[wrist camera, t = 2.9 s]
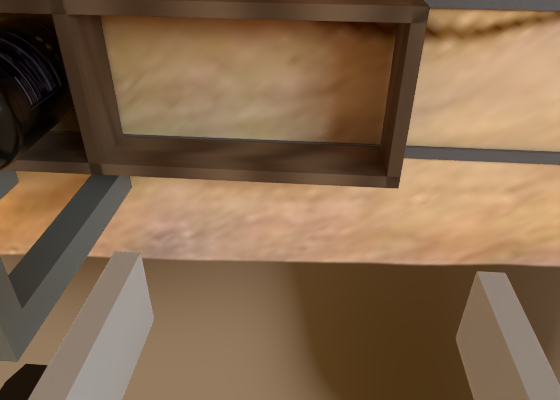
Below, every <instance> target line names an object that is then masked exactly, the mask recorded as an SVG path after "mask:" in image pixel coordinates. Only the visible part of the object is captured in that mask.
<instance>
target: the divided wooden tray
mask: <svg viewBox="0 0 560 400" xmlns="http://www.w3.org/2000/svg"><path fill="white" fill-rule="evenodd" d="M429 9H430V6H429V5H428V4H427V3H426V2H425V1H424V0H0V13H34V14H52V18H53V22H54V26H55V30H56V34H57V38H58V42H59V46H60V50H61V54H62V58H63V62H64V66H65V70H66V74H67V78H68V82H69V86H70V90H71V94H72V99H73V103H74V107H75V111H76V115H77V119H78V123H79V127H80V131H81V135H71V134H47V133H46V134H45V135H44V136H43V137H42V138H41V139H40V140H39V141H37V142H36V143H35V144H34V145H33V146H32V147H31V148H30V149H28V150H27V151H26V152H25V153H24V154H23V155H22V156H20V157H19V158H18V159H17V160H16V161H15V162H13V163H12V164H11V165H9V166H8V167H7V168H5V169H3V170H12V171H34V172H55V173H77V174H98V175H120V176H142V177H163V178H185V179H206V180H228V181H249V182H271V183H293V184H314V185H336V186H357V187H379V188H398V187H399V182H400V176H401V170H402V164H403V158H404V153H405V147H406V141H407V135H408V130H409V124H410V118H411V112H412V107H413V101H414V95H415V89H416V83H417V78H418V72H419V66H420V60H421V55H422V49H423V43H424V37H425V32H426V26H427V20H428V14H429ZM100 15H112V16H152V17H191V18H230V19H269V20H309V21H348V22H387V23H398V24H397V31H396V38H395V46H394V53H393V60H392V67H391V74H390V81H389V88H388V95H387V103H386V110H385V117H384V124H383V131H382V138H381V145H380V147H362V146H338V145H313V144H289V143H265V142H241V141H216V140H192V139H168V138H144V137H123V133H122V127H121V122H120V117H119V112H118V107H117V102H116V97H115V91H114V86H113V81H112V76H111V71H110V66H109V60H108V55H107V50H106V45H105V40H104V35H103V29H102V24H101V19H100Z"/></svg>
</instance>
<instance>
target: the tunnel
mask: <svg viewBox="0 0 560 400" xmlns="http://www.w3.org/2000/svg"><path fill="white" fill-rule="evenodd" d="M424 1H425V2H426V3H427V4H428V5H429V6H430V8H462V9H505V10H548V11H560V0H424ZM47 134H71V135H81V132H58V131H49V132H48V133H47ZM123 137H144V138H168V139H192V140H216V141H241V142H265V143H289V144H313V145H338V146H362V147H380V145H376V144H351V143H327V142H303V141H278V140H254V139H229V138H205V137H180V136H156V135H132V134H123ZM404 158H415V159H439V160H462V161H486V162H509V163H533V164H556V165H560V152H547V151H522V150H498V149H474V148H449V147H425V146H406V147H405V153H404ZM17 183H18V179H17V176H16V173H15V171H12V170H2V171H0V199H1V198H3V197H4V196H5V195H6V194H7V193H8V192H9V191H10V190H11V189H12V188H13V187H14V186H15V185H16V184H17ZM131 188H132V187H131V182H130V177H129V176H120V175H98V174H92V175H91V176H90V178H89V179H88V180H87V181H86V182H85V184H84V185H83V186H82V187H81V188H80V190H79V191H78V192H77V193H76V194H75V196H74V197H73V198H72V199H71V200H70V202H69V203H68V204H67V205H66V206H65V208H64V209H63V210H62V211H61V213H60V214H59V215H58V216H57V217H56V219H55V220H54V221H53V222H52V223H51V225H50V226H49V227H48V228H47V229H46V231H45V232H44V233H43V234H42V235H41V237H40V238H39V239H38V240H37V241H36V243H35V244H34V245H33V246H32V247H31V249H30V250H29V251H28V252H27V254H26V255H25V256H24V257H23V258H22V260H21V261H20V262H19V263H18V264H17V266H16V267H15V268H14V269H13V270H12V272H11V273H10V274H9V275H8V274H7V272H6V270H5V267H4V265H3V262H2V260H1V258H0V361H12V362H18V360H19V359H20V357H21V356H22V354H23V353H24V351H25V350H26V348H27V347H28V345H29V343H30V342H31V340H32V339H33V338H34V336H35V334H36V333H37V331H38V330H39V328H40V327H41V325H42V324H43V322H44V321H45V319H46V318H47V316H48V315H49V313H50V311H51V310H52V309H53V307H54V305H55V304H56V302H57V301H58V299H59V298H60V296H61V295H62V293H63V292H64V290H65V289H66V287H67V286H68V284H69V283H70V281H71V279H72V278H73V276H74V275H75V273H76V272H77V270H78V269H79V267H80V266H81V264H82V263H83V261H84V260H85V258H86V257H87V255H88V254H89V252H90V251H91V249H92V247H93V246H94V244H95V243H96V241H97V240H98V238H99V237H100V235H101V234H102V232H103V231H104V229H105V228H106V226H107V225H108V223H109V222H110V220H111V218H112V217H113V215H114V214H115V212H116V211H117V209H118V208H119V206H120V205H121V203H122V202H123V200H124V199H125V197H126V196H127V194H128V193H129V191H130V189H131Z"/></svg>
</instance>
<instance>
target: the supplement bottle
mask: <svg viewBox="0 0 560 400" xmlns="http://www.w3.org/2000/svg"><path fill="white" fill-rule="evenodd" d="M73 109H74V103H73V99H72V94H71V90H70V86H69V82H68V78H67V74H66V70H65V66H64V62H63V58H62V54H61V50H60V46H59V42H58V38H57V35H56V34H55V33H54V32H52V31H51V30H50V29H48V28H46V27H44V26H42V25H41V24H38V23H36V22H33V21H29V20H25V19H6V20H1V21H0V171H2V170H3V169H5V168H7V167H8V166H9V165H11V164H12V163H13V162H15V161H16V160H17V159H18V158H19V157H20V156H22V155H23V154H24V153H25V152H26V151H27V150H28V149H30V148H31V147H32V146H33V145H34V144H35V143H36V142H37V141H39V140H40V139H41V138H42V137H43V136H44V135H45V134H46V133H48V132H49V131H50V130H51V129H52V128H53V127H54V126H56V125H57V124H58V123H59V122H60V121H61V120H62V119H63V118H65V117H66V116H67V115H68V114H69V113H70V112H71V111H72V110H73Z"/></svg>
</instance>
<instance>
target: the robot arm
mask: <svg viewBox="0 0 560 400" xmlns="http://www.w3.org/2000/svg"><path fill="white" fill-rule="evenodd" d="M153 320H154V317H153V312H152V307H151V302H150V297H149V292H148V287H147V282H146V277H145V273H144V267H143V263H142V258H141V253H135V252H117V251H115V252H114V253H113V255H112V257H111V259H110V260H109V262H108V264H107V265H106V267H105V269H104V271H103V272H102V274H101V276H100V277H99V279H98V281H97V282H96V284H95V286H94V288H93V290H92V291H91V293H90V294H89V296H88V298H87V300H86V301H85V303H84V305H83V306H82V308H81V310H80V312H79V313H78V315H77V317H76V319H75V320H74V322H73V324H72V325H71V327H70V329H69V331H68V332H67V334H66V335H65V337H64V339H63V341H62V342H61V344H60V346H59V347H58V349H57V351H56V353H55V354H54V356H53V358H52V359H51V361H50V363H49V365H36V364H25V365H24V366H23V367H22V368H21V369H20V370H19V371H17V372H16V373H15V374H14V375H13V376H12V377H11V378H9V379H8V380H7V381H6V382H5V383H4V385H3V387H2V388H1V390H0V400H122V398H123V396H124V393H125V391H126V388H127V386H128V383H129V381H130V378H131V375H132V373H133V371H134V368H135V366H136V363H137V360H138V358H139V355H140V353H141V351H142V348H143V345H144V343H145V340H146V338H147V335H148V333H149V330H150V328H151V325H152V323H153ZM456 341H457V345H458V348H459V351H460V355H461V358H462V361H463V365H464V368H465V371H466V375H467V378H468V381H469V384H470V388H471V391H472V395H473V398H474V400H560V385H559V383H558V381H557V379H556V377H555V375H554V373H553V370H552V369H551V366H550V364H549V362H548V360H547V358H546V356H545V355H544V352H543V350H542V348H541V346H540V344H539V342H538V340H537V337H536V335H535V333H534V331H533V329H532V327H531V325H530V323H529V321H528V319H527V317H526V315H525V313H524V311H523V309H522V307H521V305H520V302H519V300H518V299H517V296H516V294H515V292H514V290H513V288H512V286H511V284H510V282H509V280H508V278H507V276H506V274H505V273H495V272H477V273H476V276H475V279H474V282H473V285H472V288H471V292H470V295H469V298H468V302H467V304H466V307H465V310H464V314H463V317H462V320H461V323H460V326H459V329H458V333H457V336H456Z"/></svg>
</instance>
